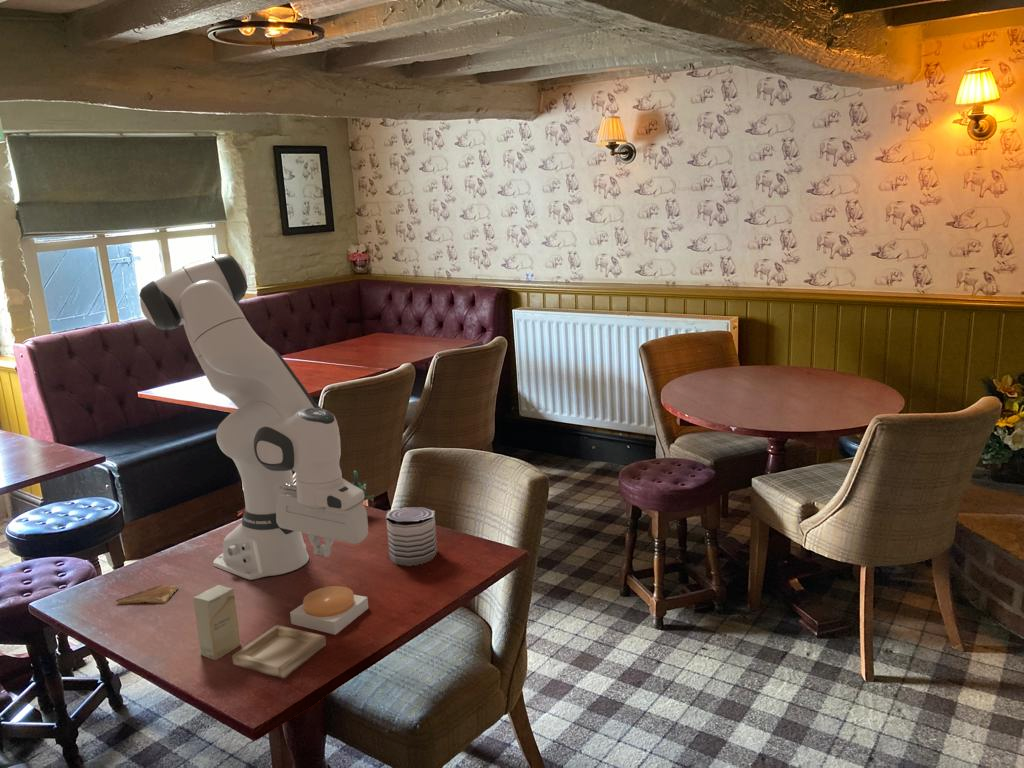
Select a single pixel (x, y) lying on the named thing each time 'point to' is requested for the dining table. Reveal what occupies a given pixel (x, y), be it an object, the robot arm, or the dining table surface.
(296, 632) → the beige soap dish
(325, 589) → the button
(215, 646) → the skincare box
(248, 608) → the dining table surface
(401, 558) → the can
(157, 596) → the shard
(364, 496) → the frog figurine
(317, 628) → the white square base
